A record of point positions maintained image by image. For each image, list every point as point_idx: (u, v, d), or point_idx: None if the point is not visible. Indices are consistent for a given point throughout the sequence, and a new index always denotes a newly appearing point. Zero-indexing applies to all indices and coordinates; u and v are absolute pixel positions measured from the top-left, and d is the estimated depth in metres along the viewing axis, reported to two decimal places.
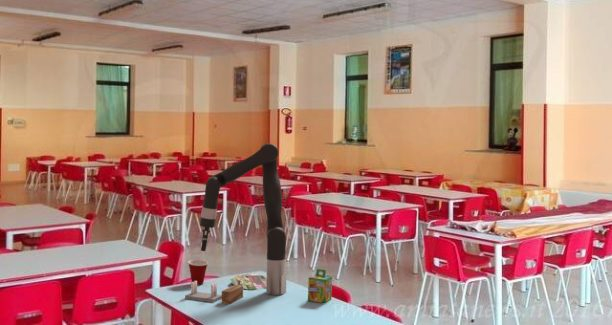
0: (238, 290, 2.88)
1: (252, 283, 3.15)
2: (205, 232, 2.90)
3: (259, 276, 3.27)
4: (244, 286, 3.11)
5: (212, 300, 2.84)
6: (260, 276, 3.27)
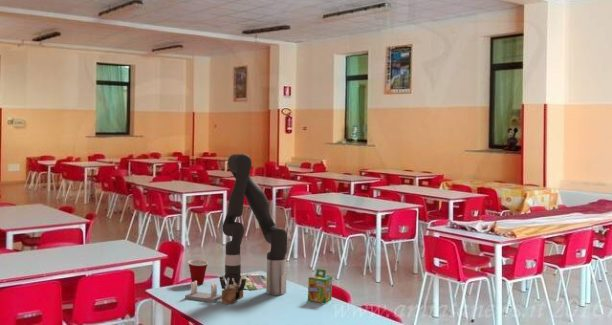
0: None
1: (252, 284, 3.15)
2: (244, 281, 2.85)
3: (259, 276, 3.26)
4: None
5: (212, 300, 2.84)
6: (260, 276, 3.27)
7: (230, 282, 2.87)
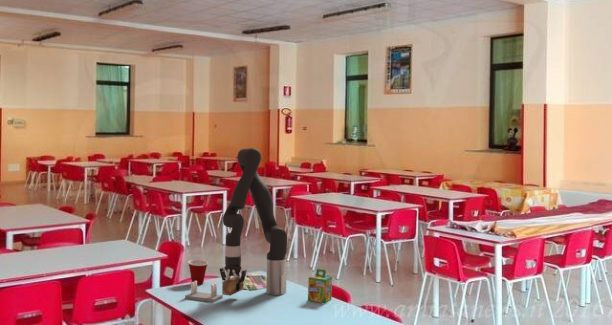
0: None
1: (252, 284, 3.15)
2: (245, 272, 2.85)
3: (260, 276, 3.26)
4: (245, 286, 3.10)
5: (212, 300, 2.84)
6: (261, 276, 3.27)
7: (230, 273, 2.87)
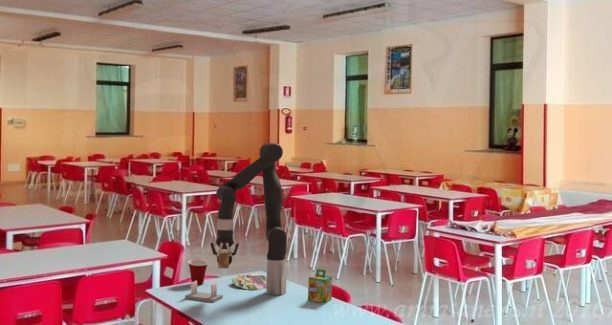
0: None
1: (253, 284, 3.15)
2: (238, 245, 2.87)
3: (260, 276, 3.26)
4: (245, 286, 3.10)
5: (212, 300, 2.84)
6: (261, 276, 3.26)
7: (223, 247, 2.86)
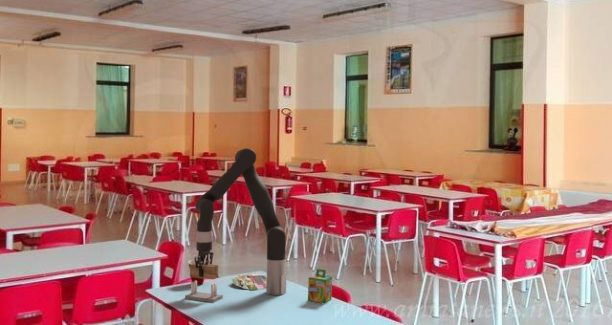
0: None
1: (253, 284, 3.15)
2: None
3: (260, 276, 3.26)
4: (245, 286, 3.10)
5: (212, 300, 2.84)
6: (261, 276, 3.26)
7: None
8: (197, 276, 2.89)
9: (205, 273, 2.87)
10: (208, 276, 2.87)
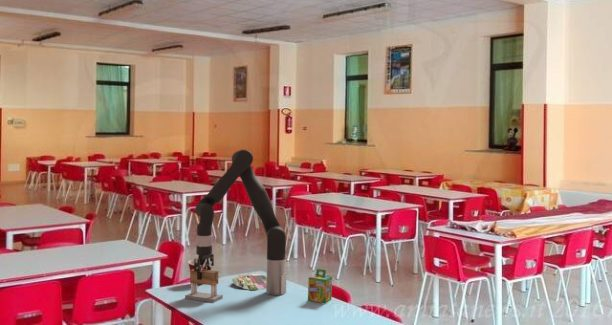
0: None
1: (253, 284, 3.15)
2: None
3: (260, 276, 3.26)
4: (245, 286, 3.10)
5: (212, 300, 2.84)
6: (261, 276, 3.26)
7: (204, 264, 2.88)
8: (197, 282, 2.89)
9: (205, 279, 2.87)
10: (208, 282, 2.87)
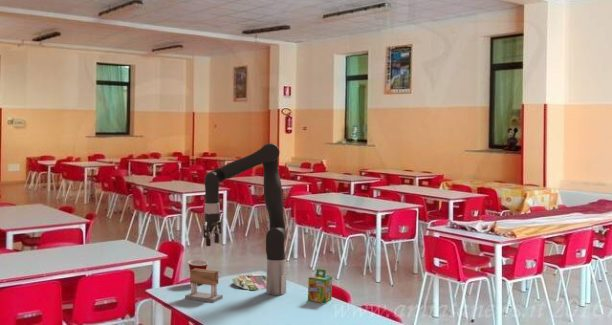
0: None
1: (254, 284, 3.15)
2: None
3: (261, 276, 3.26)
4: (246, 286, 3.10)
5: (212, 300, 2.84)
6: (262, 276, 3.26)
7: None
8: (197, 282, 2.89)
9: (205, 279, 2.87)
10: (208, 282, 2.87)
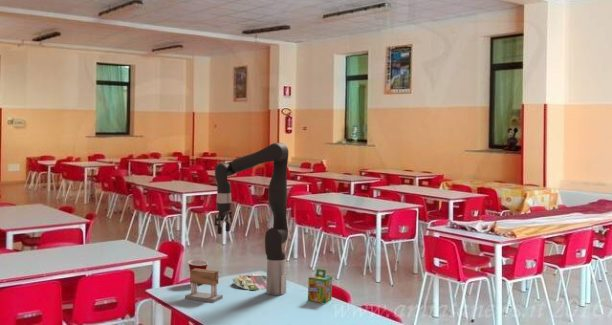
0: None
1: (254, 284, 3.14)
2: None
3: (261, 276, 3.26)
4: (246, 286, 3.10)
5: (212, 300, 2.84)
6: (262, 276, 3.26)
7: None
8: (197, 282, 2.89)
9: (205, 279, 2.87)
10: (208, 282, 2.87)
